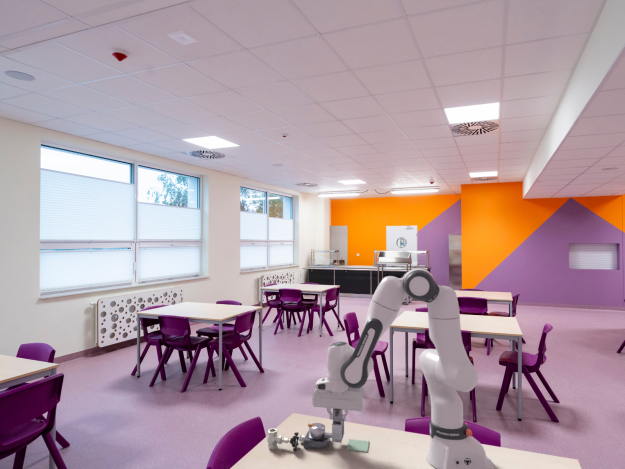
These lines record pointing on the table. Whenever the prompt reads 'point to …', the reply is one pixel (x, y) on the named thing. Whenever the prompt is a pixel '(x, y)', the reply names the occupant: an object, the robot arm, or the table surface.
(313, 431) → the silver rounded housing
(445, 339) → the robot arm
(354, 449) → the felt pad
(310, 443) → the block
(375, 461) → the table surface
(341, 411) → the grey tabbed block
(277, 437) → the valve
